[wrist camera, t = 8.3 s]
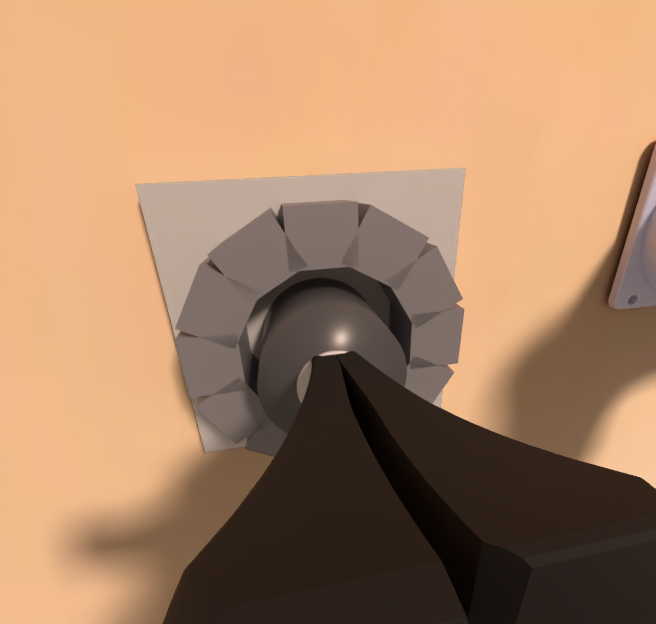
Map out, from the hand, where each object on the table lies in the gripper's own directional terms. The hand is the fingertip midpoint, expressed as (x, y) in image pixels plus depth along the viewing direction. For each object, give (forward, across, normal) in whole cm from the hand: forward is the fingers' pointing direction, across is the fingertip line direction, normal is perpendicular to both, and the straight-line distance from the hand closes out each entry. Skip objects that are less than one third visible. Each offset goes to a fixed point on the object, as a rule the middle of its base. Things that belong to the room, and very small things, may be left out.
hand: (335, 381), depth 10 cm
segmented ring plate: (+5, 0, 0) cm, 5 cm away
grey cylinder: (+4, 0, 0) cm, 4 cm away
